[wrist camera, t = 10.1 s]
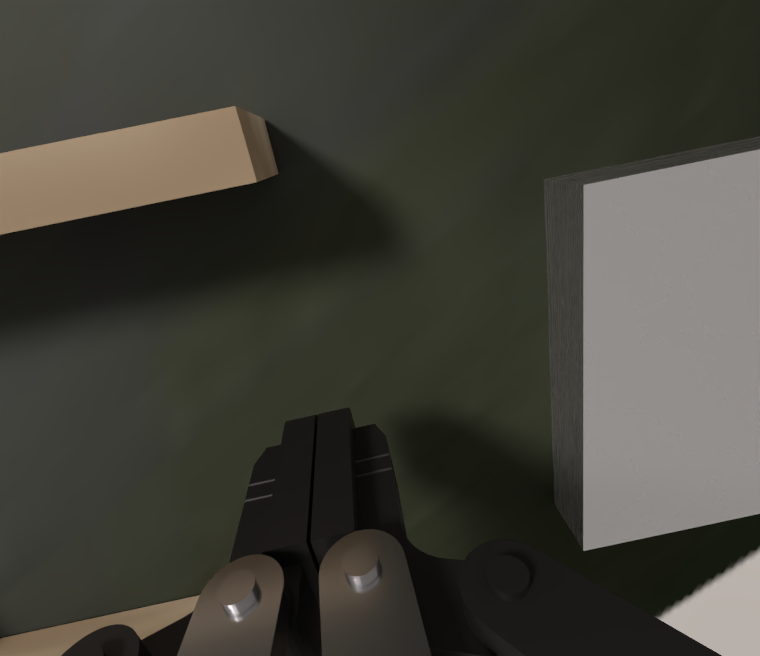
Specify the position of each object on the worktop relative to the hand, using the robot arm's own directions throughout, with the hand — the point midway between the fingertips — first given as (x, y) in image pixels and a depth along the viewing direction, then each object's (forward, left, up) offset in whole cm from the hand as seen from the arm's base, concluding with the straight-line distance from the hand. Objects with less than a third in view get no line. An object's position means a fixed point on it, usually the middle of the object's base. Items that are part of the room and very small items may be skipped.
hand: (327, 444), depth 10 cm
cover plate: (+1, +10, -3) cm, 11 cm away
